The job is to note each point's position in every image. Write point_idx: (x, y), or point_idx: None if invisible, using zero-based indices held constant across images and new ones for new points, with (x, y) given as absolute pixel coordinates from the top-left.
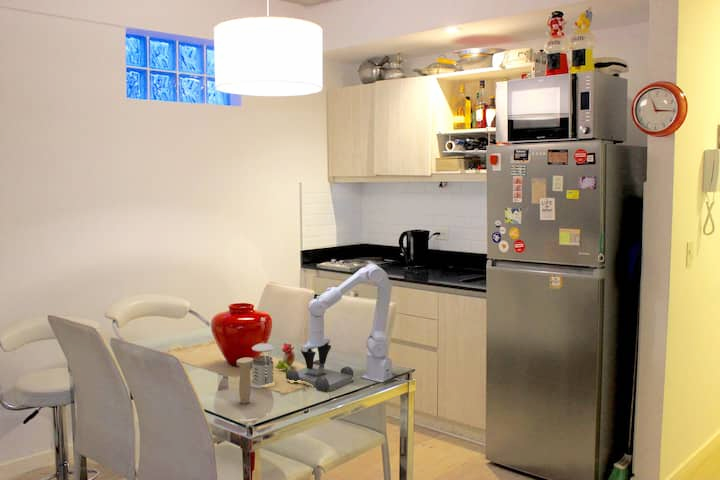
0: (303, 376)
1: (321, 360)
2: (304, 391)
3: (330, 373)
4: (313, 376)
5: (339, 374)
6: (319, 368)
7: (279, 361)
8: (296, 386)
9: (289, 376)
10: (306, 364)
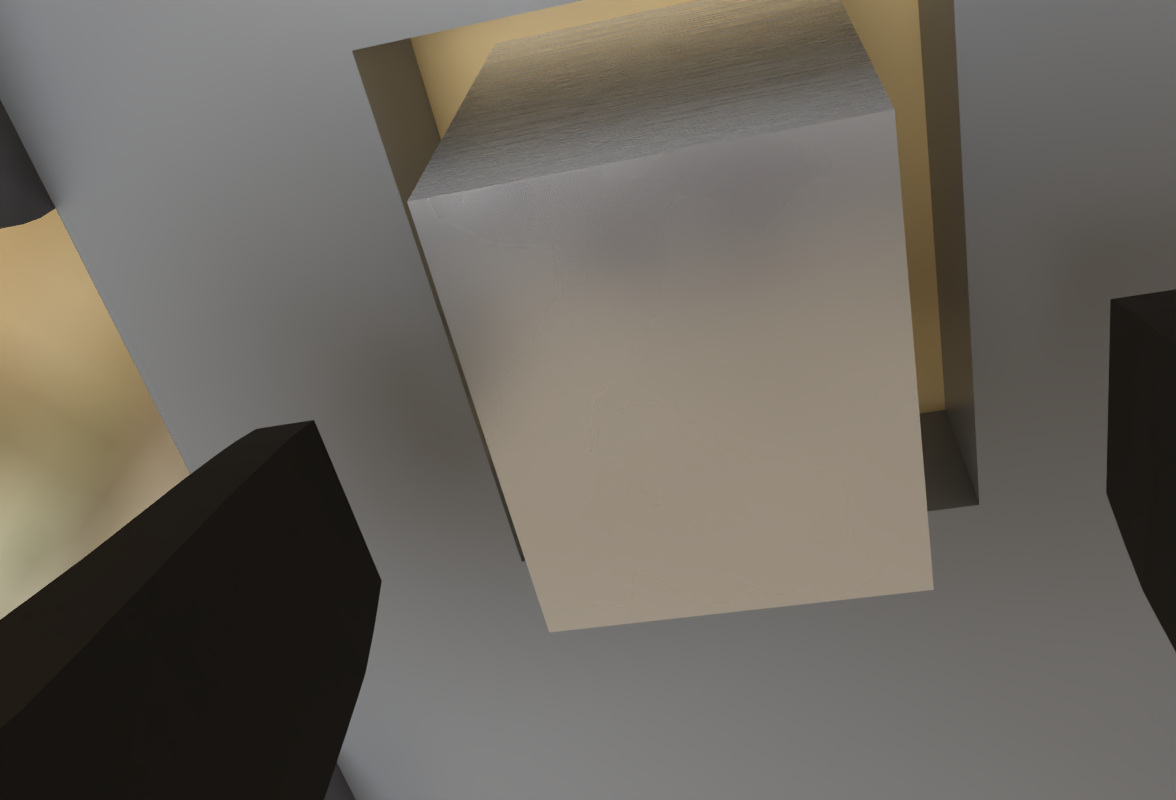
0: (212, 260)
1: (1164, 476)
2: (43, 582)
3: (1050, 532)
4: (473, 433)
5: (1142, 704)
6: (676, 609)
7: None
8: (2, 267)
9: None
10: (160, 518)
